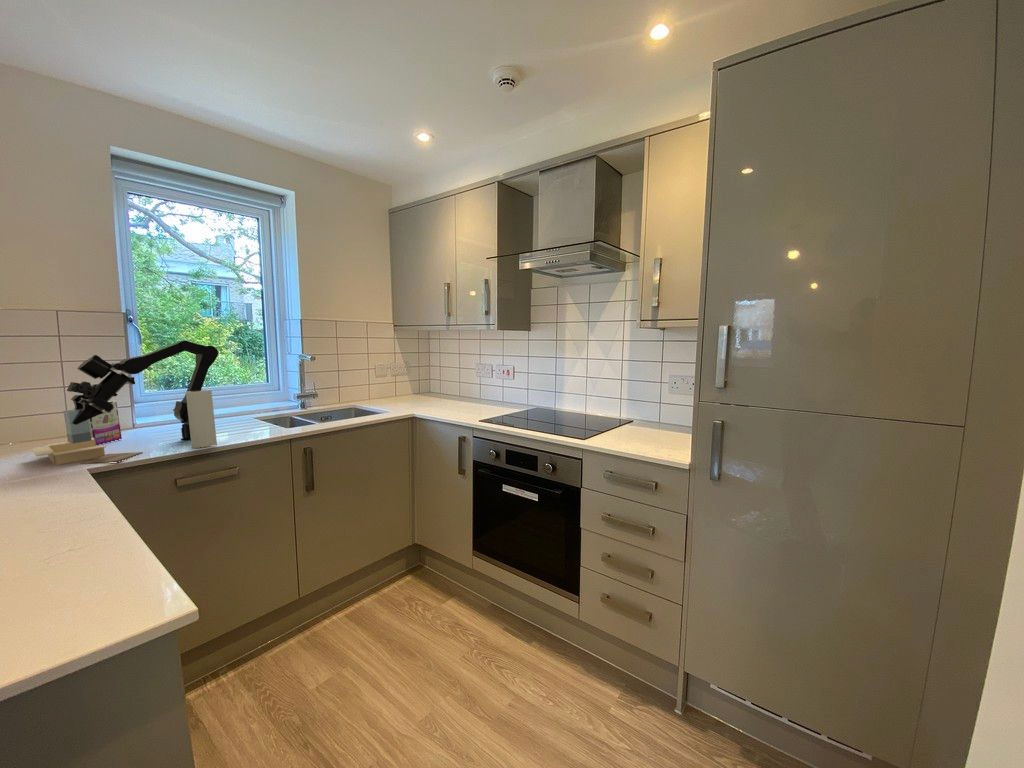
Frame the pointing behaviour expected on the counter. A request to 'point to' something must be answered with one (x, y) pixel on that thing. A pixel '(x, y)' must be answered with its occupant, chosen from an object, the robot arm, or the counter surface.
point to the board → (111, 458)
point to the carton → (70, 451)
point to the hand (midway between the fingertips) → (71, 423)
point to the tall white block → (201, 418)
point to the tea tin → (76, 427)
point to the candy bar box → (105, 426)
